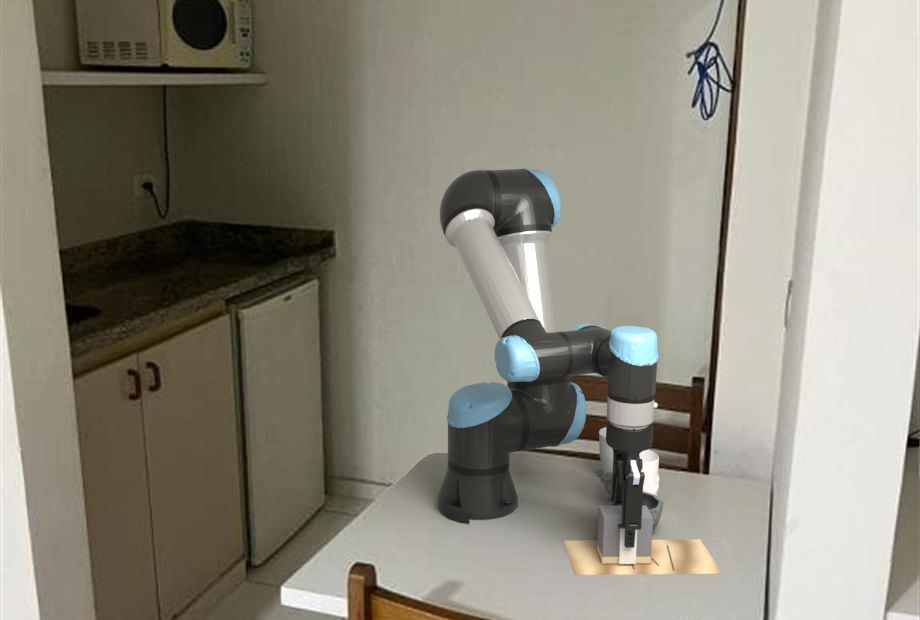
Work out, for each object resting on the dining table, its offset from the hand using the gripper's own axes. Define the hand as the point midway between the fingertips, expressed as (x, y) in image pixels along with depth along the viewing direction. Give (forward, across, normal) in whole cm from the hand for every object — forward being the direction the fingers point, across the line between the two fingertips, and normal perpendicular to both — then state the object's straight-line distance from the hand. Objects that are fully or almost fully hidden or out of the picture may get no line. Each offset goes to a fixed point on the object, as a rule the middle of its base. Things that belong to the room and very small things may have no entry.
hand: (623, 554), depth 154 cm
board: (+2, 0, -3) cm, 3 cm away
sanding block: (0, 0, 0) cm, 0 cm away
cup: (+2, +36, -6) cm, 36 cm away
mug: (+2, +20, -6) cm, 21 cm away
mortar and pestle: (+2, +10, -3) cm, 10 cm away
